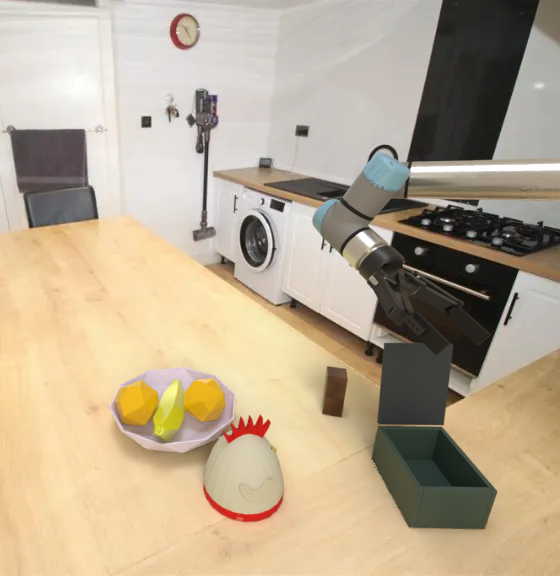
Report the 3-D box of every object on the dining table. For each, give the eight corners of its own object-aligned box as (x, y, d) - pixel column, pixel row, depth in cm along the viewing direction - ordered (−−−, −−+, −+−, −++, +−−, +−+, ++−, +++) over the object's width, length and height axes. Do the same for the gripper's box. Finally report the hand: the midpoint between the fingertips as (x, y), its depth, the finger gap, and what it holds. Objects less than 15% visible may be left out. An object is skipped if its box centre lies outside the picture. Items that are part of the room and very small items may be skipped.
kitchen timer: (297, 513, 67) (305, 439, 62) (216, 529, 64) (218, 454, 59) (263, 453, 80) (268, 387, 75) (195, 464, 77) (195, 397, 72)
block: (340, 406, 93) (346, 368, 90) (341, 417, 89) (347, 378, 86) (322, 403, 94) (326, 365, 91) (322, 414, 91) (327, 375, 87)
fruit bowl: (150, 378, 105) (149, 338, 101) (252, 407, 93) (255, 363, 89) (79, 447, 82) (73, 400, 78) (202, 497, 70) (203, 444, 66)
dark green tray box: (485, 529, 64) (498, 491, 61) (409, 527, 64) (418, 489, 62) (433, 459, 77) (442, 426, 75) (371, 459, 78) (377, 425, 75)
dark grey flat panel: (453, 344, 71) (450, 342, 72) (386, 344, 72) (383, 342, 73) (443, 425, 74) (441, 423, 75) (378, 424, 75) (376, 422, 75)
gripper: (397, 272, 87) (482, 350, 74) (319, 274, 74) (405, 369, 61) (422, 244, 83) (516, 322, 70) (343, 242, 70) (442, 337, 57)
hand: (465, 344), depth 66 cm, fingers open, 13 cm apart
